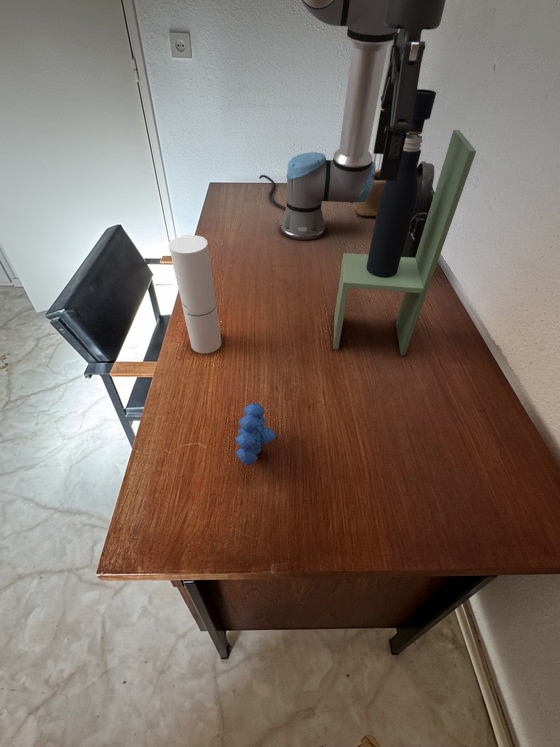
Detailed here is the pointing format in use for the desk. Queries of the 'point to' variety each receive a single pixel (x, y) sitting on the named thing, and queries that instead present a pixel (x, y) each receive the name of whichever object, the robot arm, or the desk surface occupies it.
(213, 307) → the cylindrical container
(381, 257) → the wine bottle
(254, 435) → the grapes
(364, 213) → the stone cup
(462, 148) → the green miniature chair
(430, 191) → the shoulder bag
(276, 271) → the desk surface
